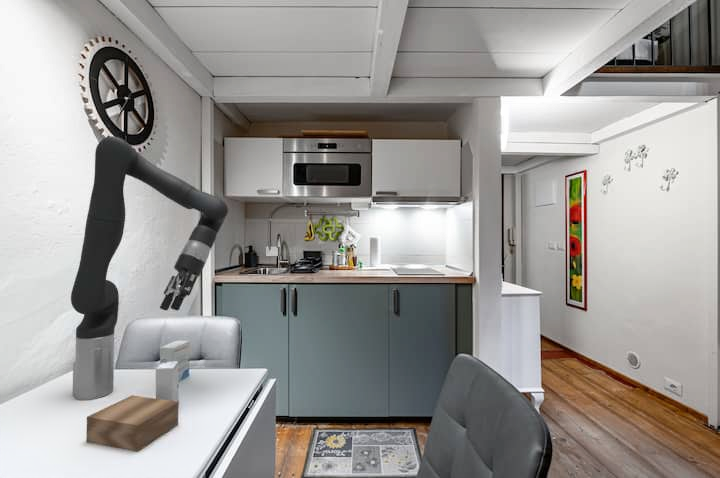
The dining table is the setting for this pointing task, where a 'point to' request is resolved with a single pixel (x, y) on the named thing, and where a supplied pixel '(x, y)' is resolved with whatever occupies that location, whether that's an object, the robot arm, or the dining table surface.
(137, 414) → the walnut block
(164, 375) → the skincare box
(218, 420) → the dining table surface
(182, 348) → the ink box
